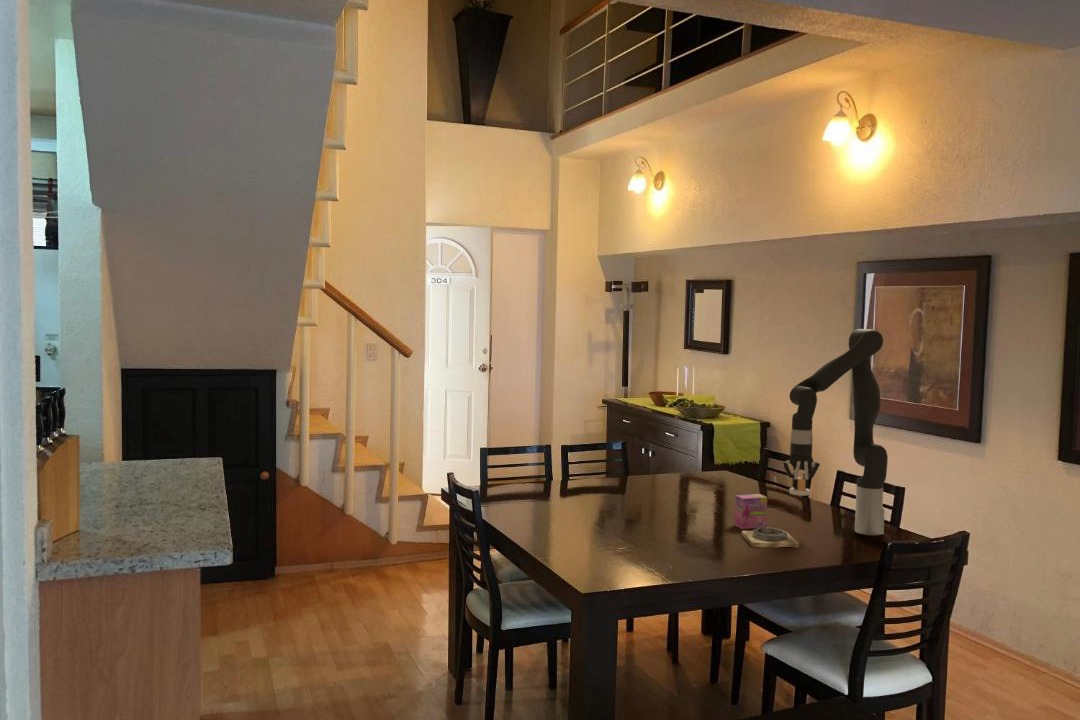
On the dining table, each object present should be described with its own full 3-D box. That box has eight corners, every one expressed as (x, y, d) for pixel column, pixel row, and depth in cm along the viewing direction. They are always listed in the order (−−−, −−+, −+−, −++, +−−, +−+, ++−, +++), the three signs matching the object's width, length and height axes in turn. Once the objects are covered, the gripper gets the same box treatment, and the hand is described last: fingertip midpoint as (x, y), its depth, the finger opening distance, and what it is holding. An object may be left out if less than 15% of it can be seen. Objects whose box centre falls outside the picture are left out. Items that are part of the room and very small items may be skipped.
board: (785, 535, 312) (786, 531, 312) (798, 547, 296) (799, 543, 296) (741, 534, 312) (741, 530, 312) (752, 547, 296) (752, 542, 296)
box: (741, 529, 320) (742, 498, 319) (734, 525, 326) (735, 494, 325) (766, 527, 323) (767, 496, 322) (758, 524, 328) (759, 493, 328)
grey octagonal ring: (780, 533, 310) (781, 527, 309) (789, 541, 299) (789, 535, 299) (750, 532, 310) (750, 527, 309) (758, 540, 299) (758, 535, 299)
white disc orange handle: (806, 491, 314) (807, 476, 314) (812, 495, 307) (812, 480, 307) (787, 491, 314) (787, 476, 314) (792, 495, 307) (793, 480, 307)
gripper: (817, 440, 313) (815, 487, 314) (779, 439, 314) (777, 486, 315) (824, 443, 306) (822, 491, 307) (784, 443, 306) (783, 491, 307)
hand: (799, 489), depth 311 cm, fingers closed on white disc orange handle, 2 cm apart
